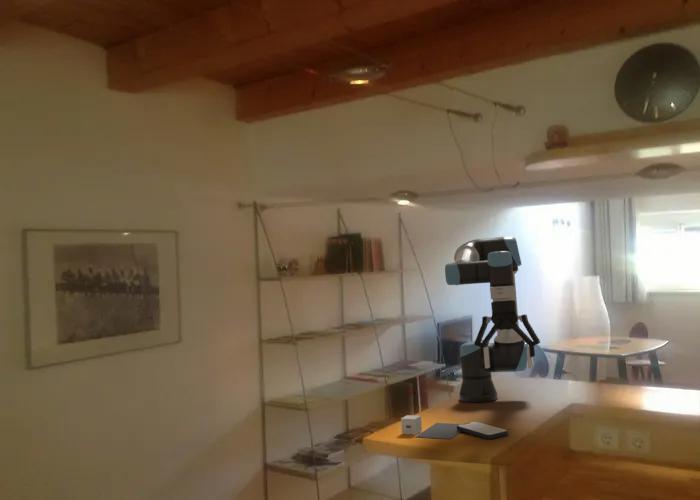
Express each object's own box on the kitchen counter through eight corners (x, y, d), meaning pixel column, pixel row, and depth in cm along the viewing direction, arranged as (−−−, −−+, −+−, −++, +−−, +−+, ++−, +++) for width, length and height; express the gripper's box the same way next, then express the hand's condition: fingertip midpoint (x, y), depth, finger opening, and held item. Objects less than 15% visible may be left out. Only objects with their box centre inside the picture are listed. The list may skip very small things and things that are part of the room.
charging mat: (436, 423, 220) (436, 422, 220) (470, 424, 214) (469, 424, 214) (415, 437, 203) (415, 436, 203) (451, 439, 198) (451, 438, 198)
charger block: (408, 430, 213) (406, 415, 213) (421, 431, 211) (420, 415, 211) (401, 434, 209) (400, 418, 209) (416, 434, 206) (414, 419, 206)
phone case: (510, 435, 198) (475, 425, 212) (510, 430, 198) (475, 420, 212) (489, 440, 193) (454, 430, 207) (488, 435, 194) (454, 425, 207)
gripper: (461, 302, 204) (466, 369, 202) (540, 298, 192) (546, 369, 190) (468, 301, 210) (474, 366, 209) (545, 297, 198) (551, 366, 197)
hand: (508, 367), depth 199 cm, fingers open, 13 cm apart
